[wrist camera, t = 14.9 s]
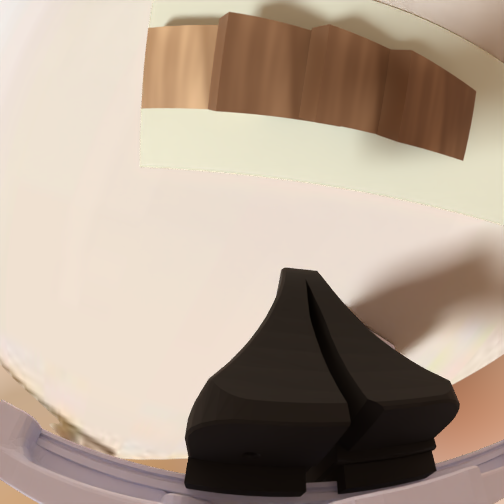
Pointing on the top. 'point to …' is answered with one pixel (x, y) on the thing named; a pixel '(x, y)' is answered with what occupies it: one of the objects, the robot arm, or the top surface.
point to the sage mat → (340, 138)
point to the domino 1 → (178, 66)
